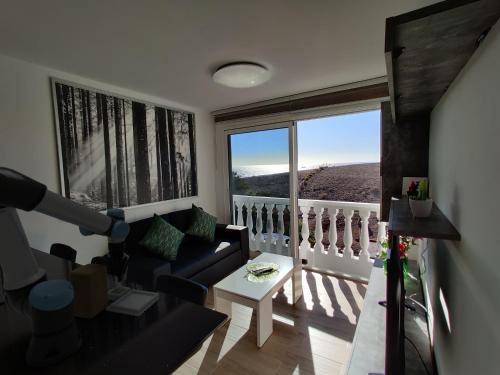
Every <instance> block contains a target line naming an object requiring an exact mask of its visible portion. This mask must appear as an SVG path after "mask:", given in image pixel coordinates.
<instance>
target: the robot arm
mask: <svg viewBox="0 0 500 375" xmlns="http://www.w3.org/2000/svg"><path fill="white" fill-rule="evenodd" d="M18 210H20V211H24V212H26V213H29V212H33V211H34V212H37V213H40V214H42V215H44V216H49V217H51V218H53V219H54V218H55V219H57V220H60V221H63V222H65V223H69V224H71V225H74V226H76V227H78V230H79V233H80V235H82V236H84V237H89V236H90V237H91V236H100V237H101V236H102V237H107V250H108V252H107V253H105V254H104V258H105V260H106V264H107V265H106V266H107V269H108V273H109V274H110V275H112V276H113V282H114V288H115V289H119V288H120V287H121V286H122V281H123V275H125V274H127V268H128V263H129V260H130V258H131V255H129V254H126V251H125V249H126V248H127V247H126V237H127V236H128V235H129V232H130V231H131V230H130V228H131V227H130V225H129V223H128V222H127V221H126V214H125V210H124V209H123V208H109V209H107V211H106V214H105V213H103V212H100V211H97V210H95V209H93V208H91V207H89V206H86V205H84V204H82V203H79V202H77V201H75V200H73V199H70V198H68V197H66V196H63V195H61V194H59V193H57V192H55V191H51V190H50V189H49V188H48V186H47V185H46V184H44V183H42V182H40V181H38V180H35V179H34V178H32V177H30V176H27V175H25V174H23V173H21V172H20V171H17V170H15V169H12V168H9V167H5V166H0V266H1V269H2V271H3V274H4V276H5V278H6V281H5V282H4V283H3V286H2V288H3V290H4V294H3V301H4V303H5V305H6V306H7V308H8V309H10V310H12V311H13V312H17V313H18V314H20V315H22V316H24V317H26V318H28V319H30V322H31V323H30V324H31V338H30V341H29V345H28V348H27V351H26V353H25V360H26V361H25V362H26V364H27V366H29V367H31V368H37V369H39V368H46V367H50V366H53V365H56V364H59V363H61V362H63V361H65V360H67V359H69V358H70V357H71V356H73V355H74V354H75V353H76V352H77V351H78V350H79V349H80V348H81V345H82V343H83V342H82V341H83V340H82V334H81V332H80V330H79V328H78V326H77V324H76V320H75V317H76V316H75V315H74V290H73V286H72V284H71V281H69V280H66V279H61V278H60V279H56V278H55V279H49V276H48V275H47V271H46V269H45V268H41V267H39V266H38V264H37V261H36V258H35V256H34V253H33V250H32V248H31V245H30V242H29V239H28V238H27V234H26V232H25V229H24V226H23V224H22V222H21V218H20V216H19V213H18Z"/></svg>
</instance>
